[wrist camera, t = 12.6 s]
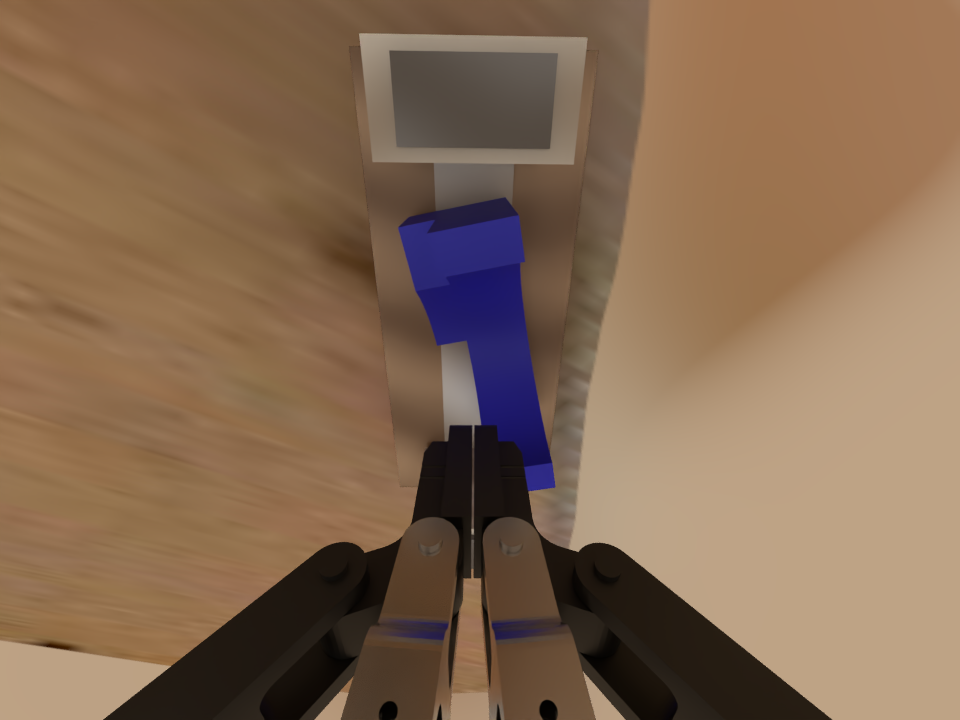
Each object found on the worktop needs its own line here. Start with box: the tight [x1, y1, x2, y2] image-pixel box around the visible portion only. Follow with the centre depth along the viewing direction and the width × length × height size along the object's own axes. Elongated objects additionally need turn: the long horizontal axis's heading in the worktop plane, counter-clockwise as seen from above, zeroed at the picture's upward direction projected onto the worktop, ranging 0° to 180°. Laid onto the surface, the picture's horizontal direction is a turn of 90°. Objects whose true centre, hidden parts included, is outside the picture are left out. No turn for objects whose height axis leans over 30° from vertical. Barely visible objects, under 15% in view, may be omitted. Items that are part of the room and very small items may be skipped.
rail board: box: [349, 33, 599, 569], centre depth 19 cm, size 24×10×8 cm, turn 179°
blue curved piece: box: [398, 197, 555, 491], centre depth 18 cm, size 12×4×6 cm, turn 11°
